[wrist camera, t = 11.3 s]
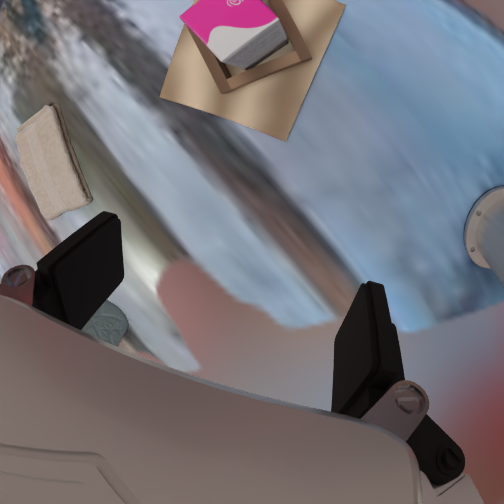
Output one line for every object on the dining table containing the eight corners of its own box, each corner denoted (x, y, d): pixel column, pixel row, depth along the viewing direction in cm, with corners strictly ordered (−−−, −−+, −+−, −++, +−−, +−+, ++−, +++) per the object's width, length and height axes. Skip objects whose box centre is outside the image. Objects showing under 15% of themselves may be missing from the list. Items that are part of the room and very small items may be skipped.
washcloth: (60, 97, 35) (46, 100, 32) (97, 199, 43) (86, 208, 41) (21, 128, 38) (8, 133, 36) (55, 217, 47) (44, 224, 44)
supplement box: (291, 41, 27) (281, 20, 17) (248, 72, 29) (218, 66, 20) (257, 5, 25) (233, -28, 15) (216, 36, 28) (174, 19, 18)
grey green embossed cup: (138, 320, 55) (109, 367, 45) (122, 341, 60) (96, 383, 50) (96, 287, 53) (62, 330, 42) (85, 312, 58) (55, 351, 48)
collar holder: (345, 7, 24) (349, -2, 21) (286, 140, 34) (283, 147, 30) (212, -32, 23) (201, -42, 20) (163, 96, 33) (147, 99, 30)
